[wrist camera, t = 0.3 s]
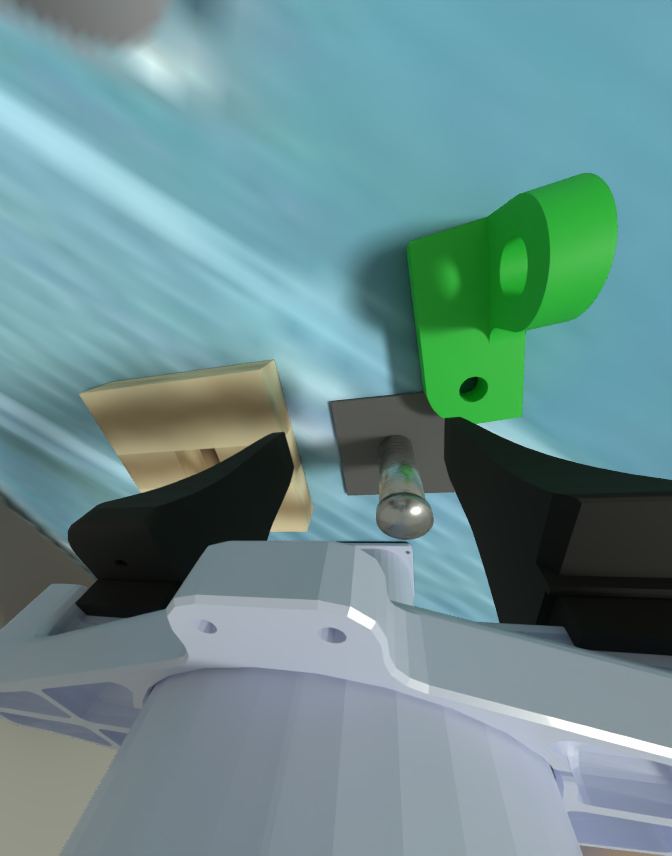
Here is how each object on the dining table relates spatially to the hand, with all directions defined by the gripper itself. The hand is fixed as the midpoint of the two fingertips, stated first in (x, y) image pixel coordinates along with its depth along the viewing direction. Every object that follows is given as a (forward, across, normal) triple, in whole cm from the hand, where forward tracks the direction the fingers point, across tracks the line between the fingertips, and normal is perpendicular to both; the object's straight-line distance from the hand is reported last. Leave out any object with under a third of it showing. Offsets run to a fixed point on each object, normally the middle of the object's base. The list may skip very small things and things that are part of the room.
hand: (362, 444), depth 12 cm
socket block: (+10, +15, +5) cm, 19 cm away
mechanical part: (+10, -7, -2) cm, 12 cm away
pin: (+10, -2, +6) cm, 12 cm away
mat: (+10, -2, +6) cm, 12 cm away
